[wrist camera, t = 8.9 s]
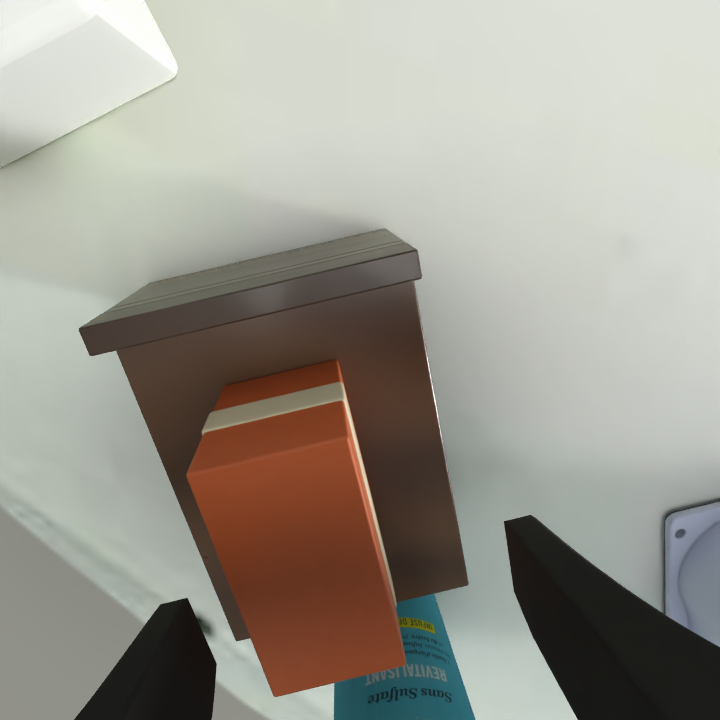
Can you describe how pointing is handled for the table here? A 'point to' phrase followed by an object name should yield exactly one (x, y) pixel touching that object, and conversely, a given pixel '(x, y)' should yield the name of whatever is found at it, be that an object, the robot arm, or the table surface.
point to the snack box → (298, 528)
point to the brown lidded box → (292, 351)
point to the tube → (410, 675)
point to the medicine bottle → (72, 66)
